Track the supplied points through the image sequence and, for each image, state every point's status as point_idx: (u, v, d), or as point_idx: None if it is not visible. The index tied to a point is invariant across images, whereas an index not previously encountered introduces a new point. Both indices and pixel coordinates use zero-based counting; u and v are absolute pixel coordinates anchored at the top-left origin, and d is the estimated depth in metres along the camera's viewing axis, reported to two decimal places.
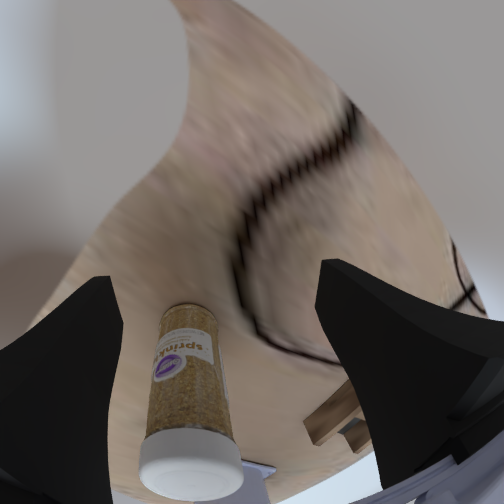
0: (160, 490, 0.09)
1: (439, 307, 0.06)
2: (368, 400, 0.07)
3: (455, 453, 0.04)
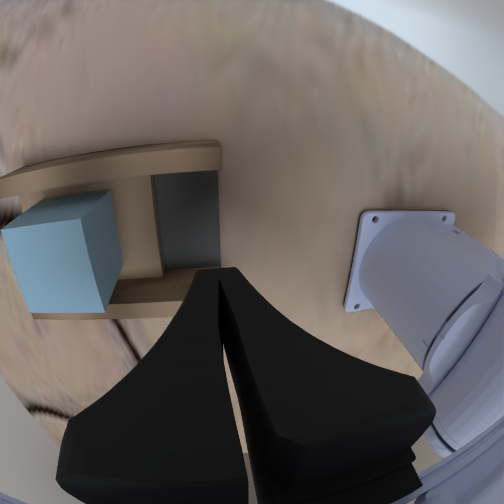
0: None
1: (307, 336, 0.05)
2: (245, 427, 0.06)
3: None
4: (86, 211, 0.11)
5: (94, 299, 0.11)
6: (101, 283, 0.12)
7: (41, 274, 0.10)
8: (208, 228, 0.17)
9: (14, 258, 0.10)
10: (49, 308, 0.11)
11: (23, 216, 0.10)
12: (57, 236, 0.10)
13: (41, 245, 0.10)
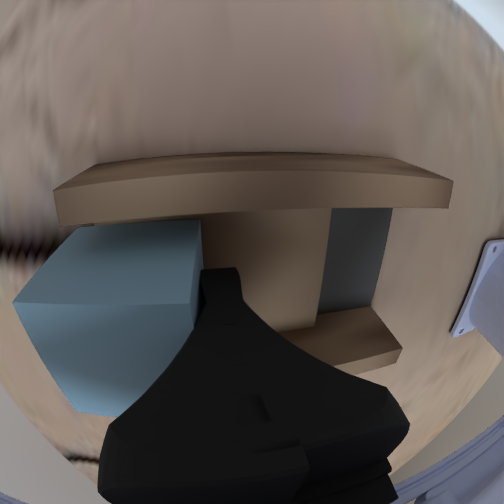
0: None
1: (281, 340, 0.05)
2: None
3: None
4: (189, 278, 0.06)
5: None
6: None
7: (98, 376, 0.06)
8: (371, 265, 0.13)
9: (42, 347, 0.06)
10: (111, 412, 0.07)
11: (51, 269, 0.06)
12: (134, 328, 0.06)
13: (98, 338, 0.06)
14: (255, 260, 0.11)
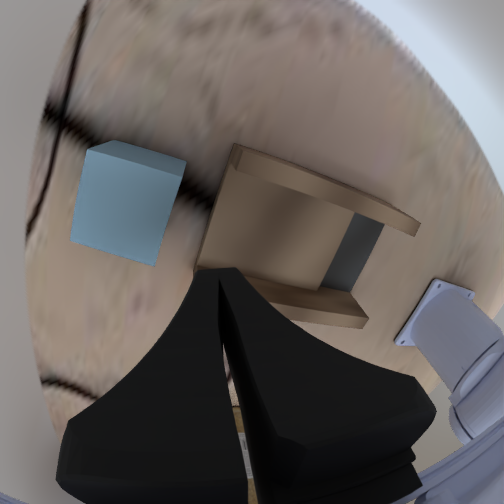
0: None
1: (307, 336, 0.05)
2: (245, 427, 0.06)
3: None
4: (105, 153, 0.11)
5: None
6: (83, 221, 0.12)
7: None
8: (358, 263, 0.21)
9: None
10: None
11: (136, 147, 0.14)
12: None
13: None
14: (303, 234, 0.18)
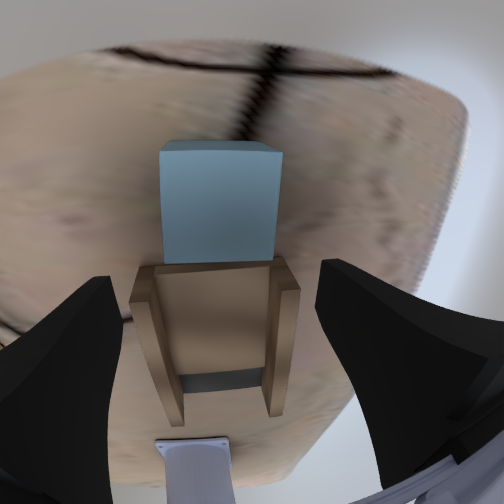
0: None
1: (439, 307, 0.06)
2: (368, 400, 0.07)
3: (455, 454, 0.04)
4: (280, 175, 0.11)
5: (180, 149, 0.10)
6: (192, 165, 0.10)
7: (214, 143, 0.12)
8: (212, 387, 0.22)
9: (231, 141, 0.14)
10: (173, 143, 0.12)
11: None
12: (258, 147, 0.11)
13: (247, 145, 0.12)
14: (224, 344, 0.19)
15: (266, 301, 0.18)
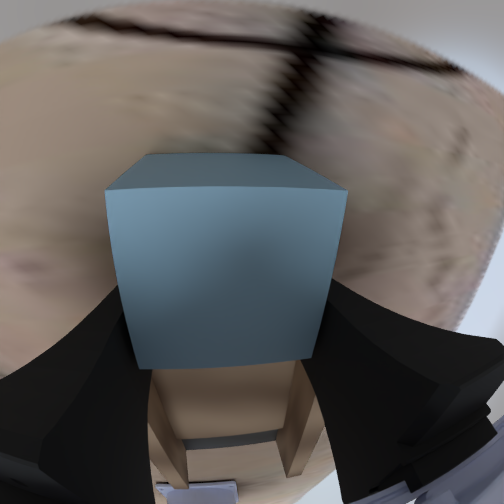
0: None
1: (401, 317, 0.06)
2: (328, 411, 0.07)
3: (408, 480, 0.03)
4: (339, 232, 0.06)
5: (147, 183, 0.05)
6: (170, 218, 0.05)
7: (216, 161, 0.07)
8: (220, 444, 0.17)
9: (242, 154, 0.09)
10: (147, 161, 0.07)
11: None
12: (296, 174, 0.06)
13: (273, 165, 0.07)
14: (236, 412, 0.14)
15: (292, 368, 0.13)
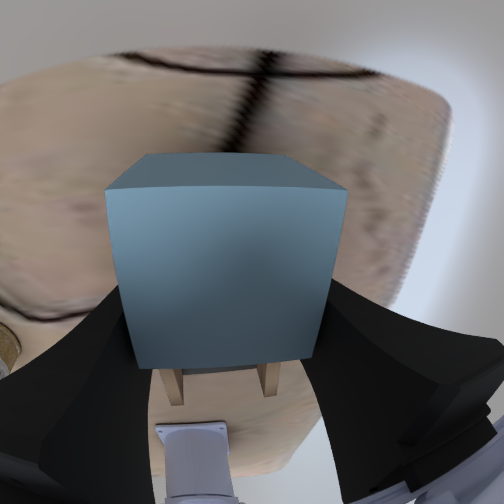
0: None
1: (401, 317, 0.06)
2: (328, 411, 0.07)
3: (408, 481, 0.03)
4: (339, 232, 0.06)
5: (147, 182, 0.05)
6: (170, 217, 0.05)
7: (216, 160, 0.07)
8: (210, 368, 0.23)
9: (242, 154, 0.09)
10: (147, 160, 0.07)
11: None
12: (296, 173, 0.06)
13: (273, 165, 0.07)
14: None
15: None
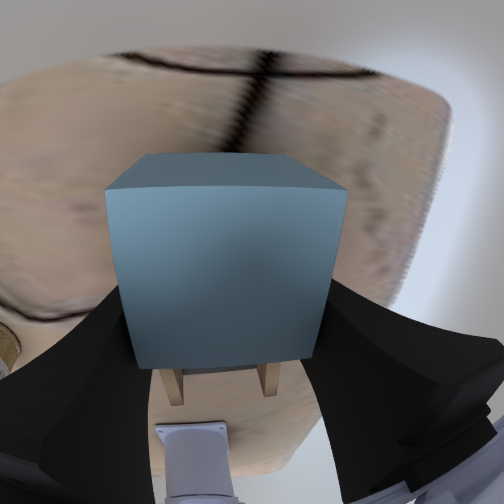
0: None
1: (401, 317, 0.06)
2: (328, 411, 0.07)
3: (408, 481, 0.03)
4: (339, 232, 0.06)
5: (147, 182, 0.05)
6: (170, 217, 0.05)
7: (216, 160, 0.07)
8: (210, 368, 0.23)
9: (242, 154, 0.09)
10: (147, 160, 0.07)
11: None
12: (296, 173, 0.06)
13: (273, 165, 0.07)
14: None
15: None
